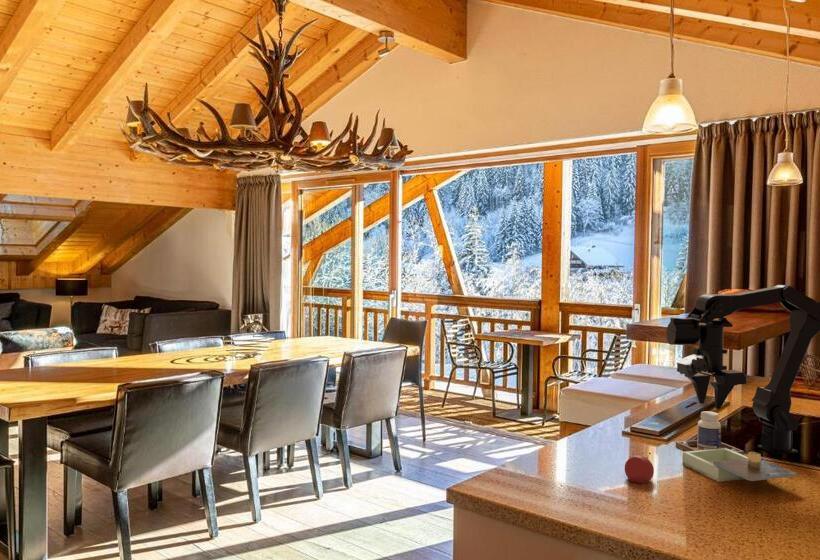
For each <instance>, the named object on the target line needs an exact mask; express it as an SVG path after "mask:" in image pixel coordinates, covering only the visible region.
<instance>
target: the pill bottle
mask: <svg viewBox="0 0 820 560" xmlns="http://www.w3.org/2000/svg"><path fill="white" fill-rule="evenodd" d="M700 418H701V419H700V420H698V422H697V440H698V441H697V445H696V447H697V450H708V449H719V448H721V442H722V425H721V422H719V421H718V420H719V413H717V412H714V411H709V410H708V411H706V410H705V411H701V412H700Z"/></svg>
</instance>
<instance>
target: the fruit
mask: <svg viewBox="0 0 820 560" xmlns="http://www.w3.org/2000/svg"><path fill="white" fill-rule="evenodd" d="M651 453H652V452H648V455H647V457H645V456H643V455H641V454H640V455H636V454H635V455H633V456H632V455H631V456H630V457H629V458H628V459H627V460H626V462H625V463H624V475H626V477H627V479H628V480H629V481H631V482H633V483H634V484H635V483H636V484H648V483H649V482H650V481H651V480H652V479H653V476H654V474H655V469H654V465H653V463H652V462H651V460H649V455H651Z"/></svg>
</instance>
